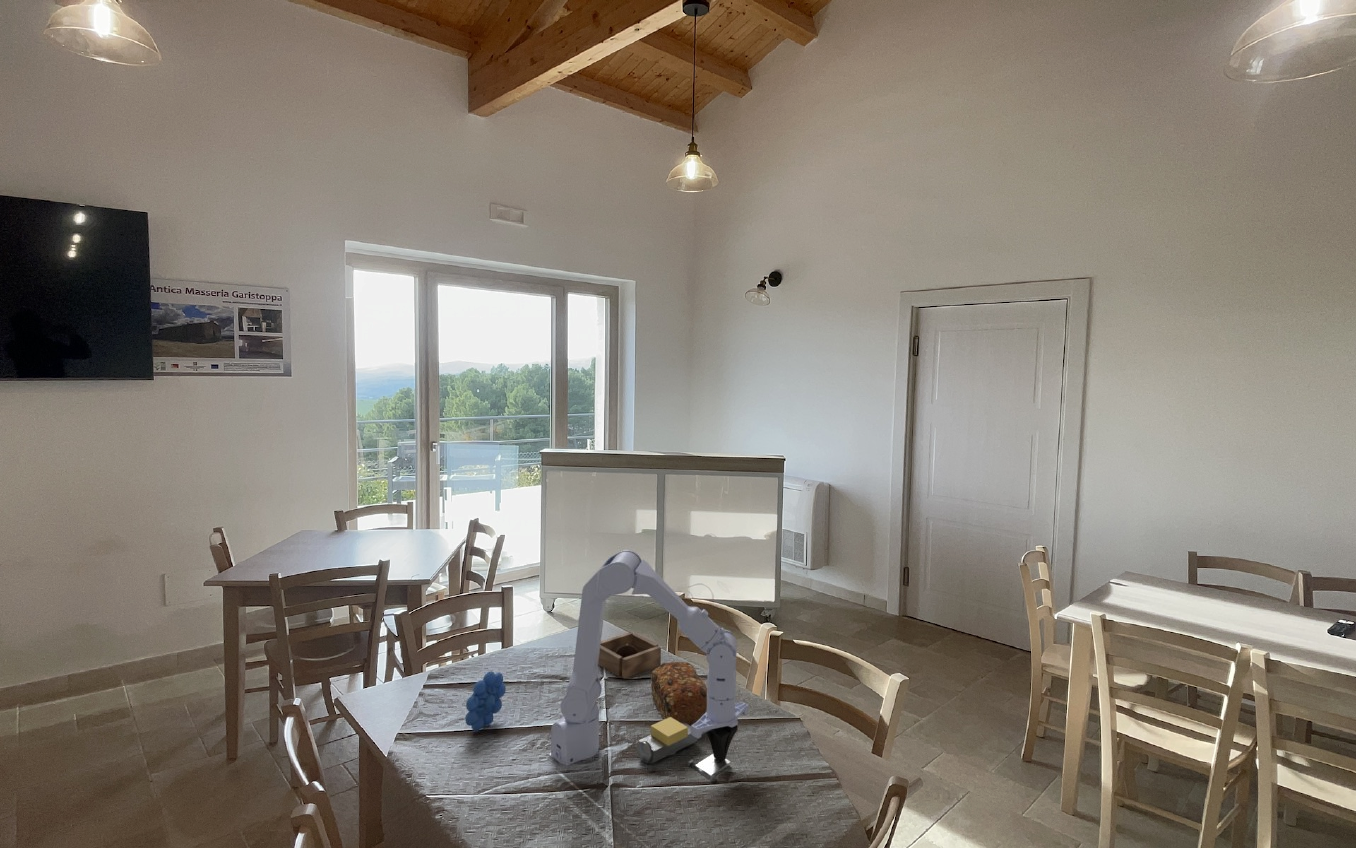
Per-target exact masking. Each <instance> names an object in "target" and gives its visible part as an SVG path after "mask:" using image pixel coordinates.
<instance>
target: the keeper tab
mask: <svg viewBox="0 0 1356 848" xmlns="http://www.w3.org/2000/svg"><path fill="white" fill-rule="evenodd" d="M731 763H732V762H731V761H730V760H729V759H727V758H726V759H725V760H723V761H721V762H720V761H719V760H717V759H715V758H714V755H713V753H711V755H709V756H707V757H705V758H703V760H701V761H699V762H698V763H697V764H695V763H694V764H691V766H690V767H689V768H691V769H692V770H695V772H697V773H698V774H700V775H702V776H703V777H705V778H706V779H708V780H709V781H710V776H712V775H713V774H715V775H717V774H719V773H720V772H721V771H723V770H725V769H726V768H727V767H728V766H730V765H731Z"/></svg>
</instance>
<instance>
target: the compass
mask: <svg viewBox="0 0 1356 848" xmlns="http://www.w3.org/2000/svg"><path fill="white" fill-rule="evenodd" d="M615 653H616V654H618V655H620V656H622V657H623V658H625V657H628V656H631V655H633V654H636V653H638V651H637V649H636V648H635V647H634V646H632V645H629V644H628V643H627V644H625V645H622V646H620V647H619V648H618V649H617V650H616V652H615Z"/></svg>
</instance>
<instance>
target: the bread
mask: <svg viewBox="0 0 1356 848" xmlns="http://www.w3.org/2000/svg"><path fill="white" fill-rule="evenodd" d="M653 669H654V670H652V672H651V674H650V681H651V683H650V688H651V689H650V690H651V695H652V700H653V702H654V703H655V707H656V708H657V712H658V713H659V714H660V716H661V718H662V720H665V719H667V718H669V717H671V718H673V719H675V720H677V721H678V722H680V721H683V722H685V723H687V724H688V725H690V726H691V725H693V724H695V723H696V722H697V721H698V720H699V719H700V718H701V717H702V716H703V715H704V714H705V713H706V712H707V684H706V683H705V682H704V680H703V679H702V677H701V676H699V675H698V674H697V671H696V669H695V668H694V666H693V665H692V664H691V663H689V662H686V661H684V662H683V661H676V662H675V661H670V662H666V663H665V662H663V663H661V665H660V666H657V667H655V668H653Z"/></svg>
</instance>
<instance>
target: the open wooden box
mask: <svg viewBox="0 0 1356 848" xmlns="http://www.w3.org/2000/svg"><path fill="white" fill-rule="evenodd" d="M627 643H628V644H629V645H632V646H634V647H635V648H636V649H637V651H638V653H636V654H633V655H631V656H628V657H625V658H623V657H622V656H620V655H618V654H616V653H615V652H616V650H617V649H618V648H619V647H620V646H622V645H625V644H627ZM661 662H662V647H661V646H659V644H658V643H656V642H654V641H652V640H650V639H648V638H646V637H643V636H642V635H640V634H638V633H633V632H627V633H623V634H620V635H616V636H614V637H611V638H610V637H609V638H607V639H603V640H601V644H600V652H599V660H598V667H601V668H603V669H605V670H606V671H608V672H610V673H611V674H613V675H615V676H616V677H618V678H619V677H621V678H623V679H628V678H631V677H633V676H636V675H639V674H641V673H643V672H646V671H649V670H652V669H655V668H658V667H659V666H661V665H662V663H661Z"/></svg>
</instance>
